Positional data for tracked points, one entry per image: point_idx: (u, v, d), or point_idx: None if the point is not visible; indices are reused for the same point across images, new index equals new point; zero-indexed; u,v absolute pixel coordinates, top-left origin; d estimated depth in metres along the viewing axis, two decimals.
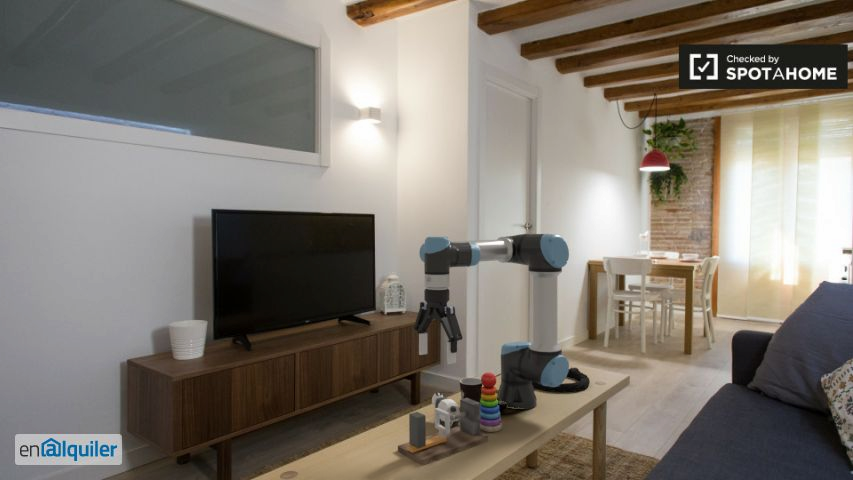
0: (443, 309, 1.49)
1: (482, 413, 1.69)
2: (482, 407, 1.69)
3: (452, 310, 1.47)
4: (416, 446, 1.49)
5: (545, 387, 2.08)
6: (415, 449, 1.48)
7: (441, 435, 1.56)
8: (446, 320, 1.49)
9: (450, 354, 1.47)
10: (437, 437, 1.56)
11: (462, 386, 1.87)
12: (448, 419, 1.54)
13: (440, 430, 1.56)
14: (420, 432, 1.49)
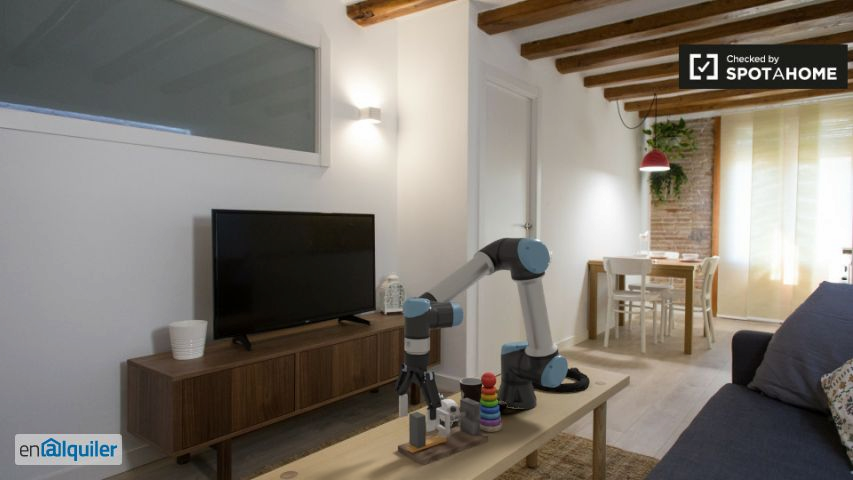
0: (423, 374, 1.46)
1: (482, 413, 1.69)
2: (482, 407, 1.69)
3: (431, 376, 1.45)
4: (416, 446, 1.49)
5: (545, 387, 2.08)
6: (415, 449, 1.48)
7: (441, 435, 1.56)
8: (426, 385, 1.47)
9: (429, 421, 1.44)
10: (437, 437, 1.56)
11: (462, 386, 1.87)
12: (448, 419, 1.54)
13: (440, 430, 1.56)
14: (420, 432, 1.49)
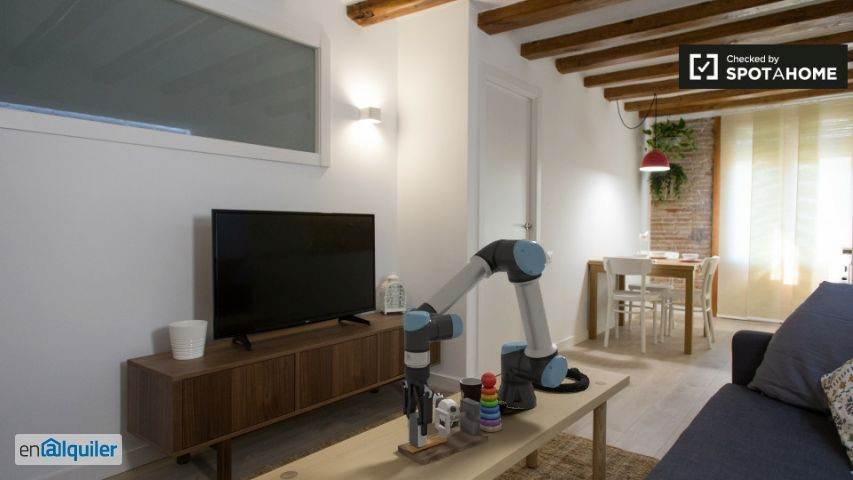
0: (423, 389, 1.47)
1: (482, 413, 1.69)
2: (482, 407, 1.69)
3: (431, 395, 1.45)
4: (416, 446, 1.49)
5: (545, 387, 2.08)
6: (415, 449, 1.48)
7: (441, 435, 1.56)
8: (423, 401, 1.48)
9: (420, 437, 1.48)
10: (437, 437, 1.56)
11: (462, 386, 1.87)
12: (448, 419, 1.54)
13: (440, 430, 1.56)
14: None
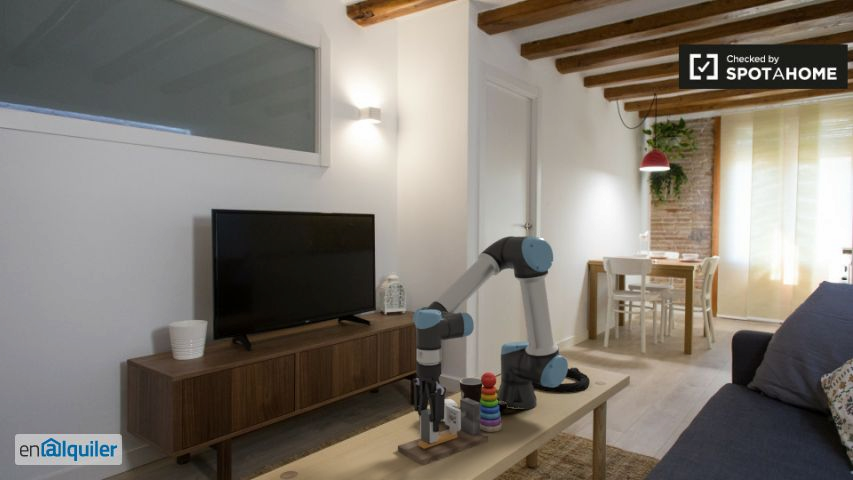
0: (434, 386, 1.49)
1: (482, 413, 1.69)
2: (482, 407, 1.69)
3: (443, 392, 1.48)
4: (428, 442, 1.51)
5: (545, 387, 2.08)
6: (427, 445, 1.51)
7: (452, 431, 1.58)
8: (434, 398, 1.51)
9: (432, 433, 1.51)
10: (448, 433, 1.58)
11: (462, 386, 1.87)
12: (459, 416, 1.57)
13: (451, 427, 1.59)
14: None
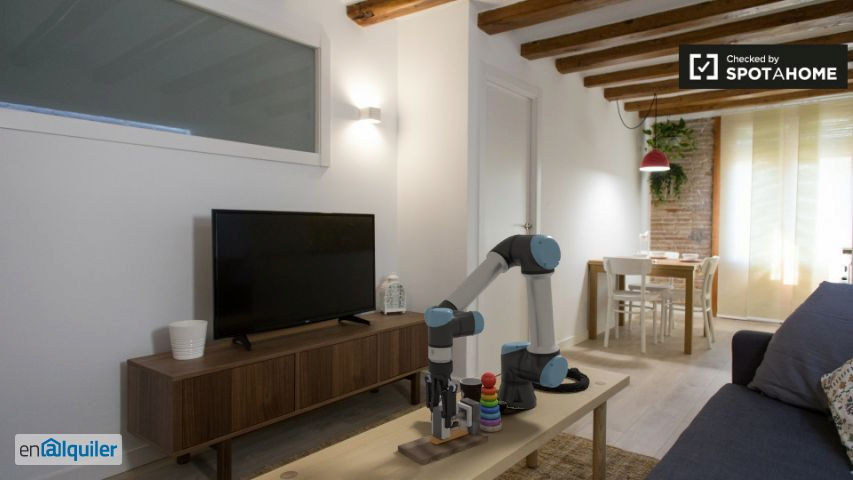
0: (446, 383, 1.52)
1: (482, 413, 1.69)
2: (482, 407, 1.69)
3: (454, 389, 1.51)
4: (440, 438, 1.54)
5: (545, 387, 2.08)
6: (439, 441, 1.54)
7: (463, 428, 1.61)
8: (446, 394, 1.54)
9: (444, 429, 1.53)
10: (459, 430, 1.61)
11: (462, 386, 1.87)
12: (470, 412, 1.59)
13: (462, 423, 1.62)
14: None
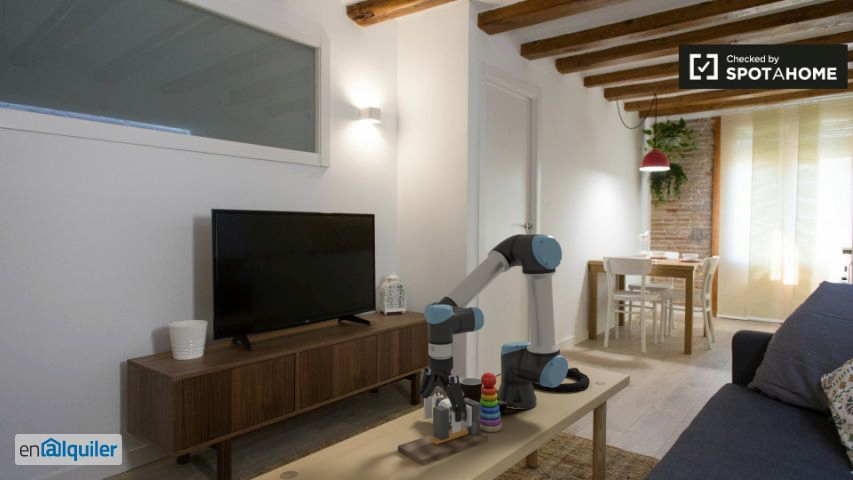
0: (447, 378, 1.52)
1: (482, 413, 1.69)
2: (482, 407, 1.69)
3: (456, 380, 1.50)
4: (440, 438, 1.54)
5: (545, 387, 2.08)
6: (439, 441, 1.54)
7: (463, 428, 1.61)
8: (450, 389, 1.52)
9: (455, 423, 1.50)
10: None
11: (462, 386, 1.87)
12: (470, 412, 1.59)
13: (462, 423, 1.62)
14: (444, 425, 1.54)
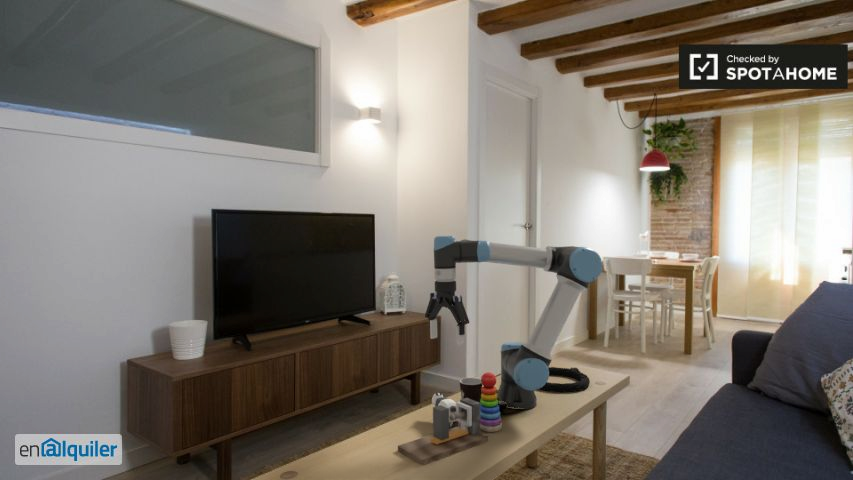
0: (451, 298, 1.73)
1: (482, 413, 1.69)
2: (482, 407, 1.69)
3: (459, 298, 1.72)
4: (440, 438, 1.54)
5: (545, 387, 2.08)
6: (439, 441, 1.54)
7: (463, 428, 1.61)
8: (454, 307, 1.74)
9: (459, 336, 1.71)
10: (459, 430, 1.61)
11: (462, 386, 1.87)
12: (470, 412, 1.59)
13: (462, 423, 1.62)
14: (444, 425, 1.54)
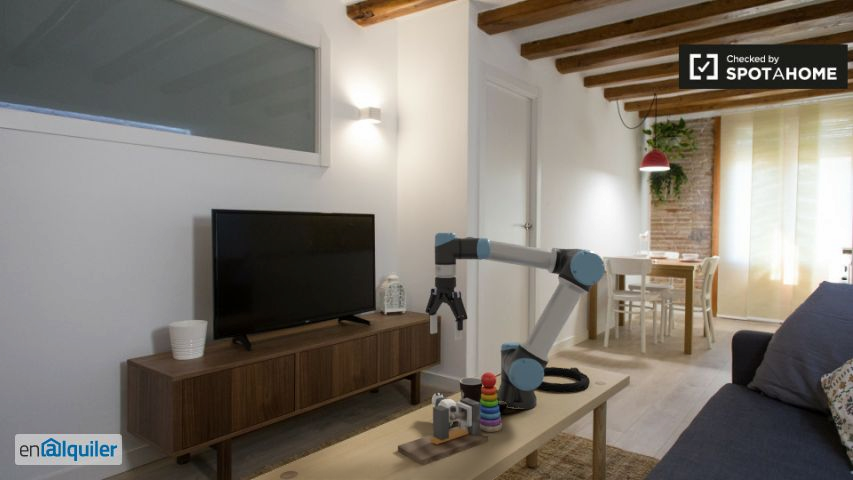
0: (451, 294, 1.76)
1: (482, 413, 1.69)
2: (482, 407, 1.69)
3: (458, 294, 1.74)
4: (440, 438, 1.54)
5: (545, 387, 2.08)
6: (439, 441, 1.54)
7: (463, 428, 1.61)
8: (453, 303, 1.76)
9: (457, 331, 1.74)
10: (459, 430, 1.61)
11: (462, 386, 1.87)
12: (470, 412, 1.59)
13: (462, 423, 1.62)
14: (444, 425, 1.54)
